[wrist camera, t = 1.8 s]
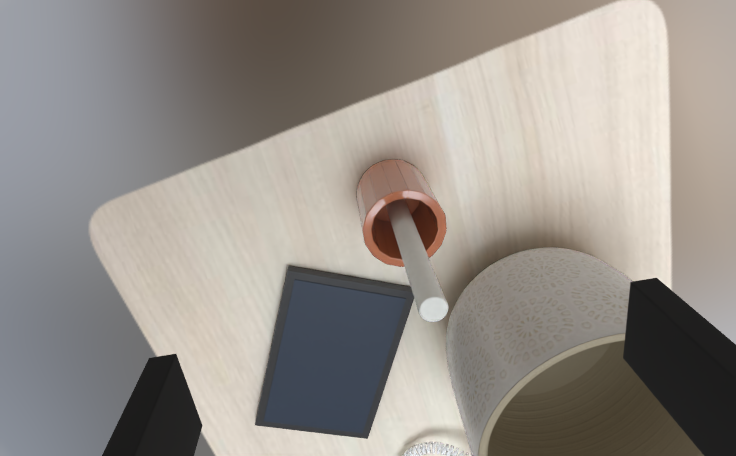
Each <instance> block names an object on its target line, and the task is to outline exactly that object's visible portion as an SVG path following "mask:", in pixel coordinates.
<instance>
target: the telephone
mask: <svg viewBox="0 0 736 456" xmlns="http://www.w3.org/2000/svg"><path fill="white" fill-rule="evenodd" d="M425 444H427V449H426V446H425ZM420 445H422V447H421V446H420ZM430 445H432V453H433V454H434V453H435V447H436V445H437V454H439V452H440V449H441V455H444V453H445V451H446V456H449V455H450V456H457V454H458V451H459V448H456V449H455V451H454V453H453V449H454V446H452V445H451V447H450V449H449V451H448V448H449V444H445V446H444V444H443V443H441V442H440V444H438V442H434V443H433V442H424V443H419V444H416V445H414V446H412V447H411V448H410V449H408V450H407V451H406V452H405V453H406V454H405V453H404V454H403V455H402V456H414V455H415V456H420V455H423V454H427V452H428V454H430V453H431V449H430ZM416 446H417V447H416ZM412 448H413V449H412ZM415 449H416V450H417V452H418V455H417V453H416V451H415ZM420 450H421V452H420ZM411 451H413V453H414V454H413V453H412V452H411ZM463 452H464V451H463V450H461V452H460V454H459V455H458V456H462V455H463ZM408 453H409V454H410V455H409V454H408ZM468 455H469V454H468V453H466V454H465V456H468Z"/></svg>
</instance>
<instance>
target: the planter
mask: <svg viewBox="0 0 736 456" xmlns="http://www.w3.org/2000/svg"><path fill="white" fill-rule="evenodd" d="M630 282H633V281H632V280H631V279H629V278H628V277H627V276H625V275H624V274H623V273H621V272H620V271H618V270H617V269H615V268H613V267H612V266H610V265H608V264H607V263H605V262H604V261H602V260H600V259H598V258H596V257H593V256H591V255H589V254H586V253H583V252H579V251H575V250H571V249H565V248H552V247H547V248H536V249H530V250H525V251H521V252H518V253H515V254H512V255H509V256H507V257H505V258H502V259H500V260H498V261H497V262H495V263H493V264H492V265H490V266H489V267H487V268H486V269H484V270H483V271H482V272H481V273H479V274H478V275H477V276H476V277H475V278H474V279H473V280H472V281H471V282H470V283H469V284H468V285H467V287H466V288H465V289H464V291H463V292H462V293H461V295H460V296H459V298H458V300H457V302H456V304H455V306H454V308H453V310H452V313H451V316H450V319H449V322H448V327H447V334H446V354H447V362H448V370H449V374H450V379H451V383H452V387H453V391H454V394H455V398H456V402H457V405H458V409H459V412H460V415H461V419H462V422H463V425H464V429H465V432H466V436H467V439H468V443H469V446H470V450H471V453H472V456H704V455H703V454H702V453H701V451H700V450H699V449H698V448H697V447H696V445H695V444H694V443H693V442H692V441H691V439H690V438H689V437H688V436H687V435H686V433H685V432H684V431H683V430H682V429H681V427H680V426H679V425H678V424H677V423H676V421H675V420H674V419H673V418H672V416H671V415H670V414H669V413H668V412H667V410H666V409H665V408H664V407H663V406H662V404H661V403H660V402H659V401H658V400H657V398H656V397H655V396H654V395H653V394H652V392H651V391H650V390H649V389H648V388H647V386H646V385H645V384H644V383H643V382H642V380H641V379H640V378H639V377H638V375H637V374H636V373H635V372H634V371H633V369H632V368H631V367H630V366H629V365H628V363H627V362H626V361H625V360H624V359H623V353H624V342H625V332H626V322H627V312H628V302H629V292H630Z"/></svg>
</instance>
